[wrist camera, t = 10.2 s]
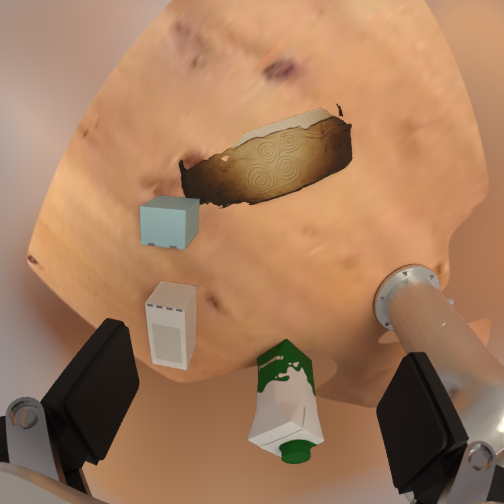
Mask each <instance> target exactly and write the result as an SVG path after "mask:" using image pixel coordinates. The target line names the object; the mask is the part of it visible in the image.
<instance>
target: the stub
mask: <svg viewBox="0 0 504 504" xmlns="http://www.w3.org/2000/svg"><path fill="white" fill-rule="evenodd" d="M199 201H200V199H192V198H185V197H172V196H159V197H157V198H155V199H153V200H151V201H149V202H147V203H146V204H144V205H142V206H140V226H141V244H142V245H150V246H158V247H166V248H174V249H182V250H185V249H186V248H187V246H188V245H189V244H190V242H191V241H192V240H193V238H194V237H195V236H196V235H197V233H198V224H199V204H200V203H199Z"/></svg>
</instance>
